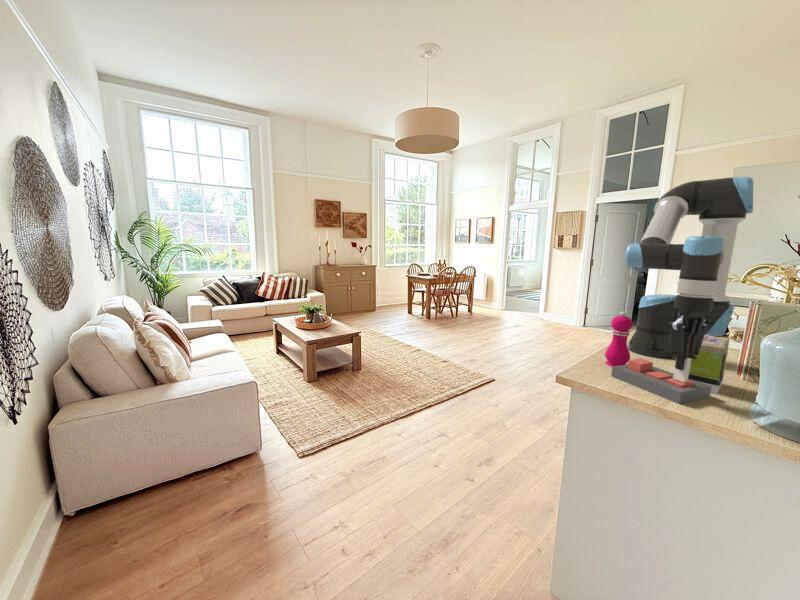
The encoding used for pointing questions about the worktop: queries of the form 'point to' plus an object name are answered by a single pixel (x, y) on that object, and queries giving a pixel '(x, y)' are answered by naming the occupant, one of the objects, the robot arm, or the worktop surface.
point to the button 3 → (679, 383)
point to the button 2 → (659, 375)
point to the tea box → (710, 362)
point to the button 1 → (640, 365)
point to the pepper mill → (619, 341)
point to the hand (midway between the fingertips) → (680, 380)
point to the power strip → (661, 385)
